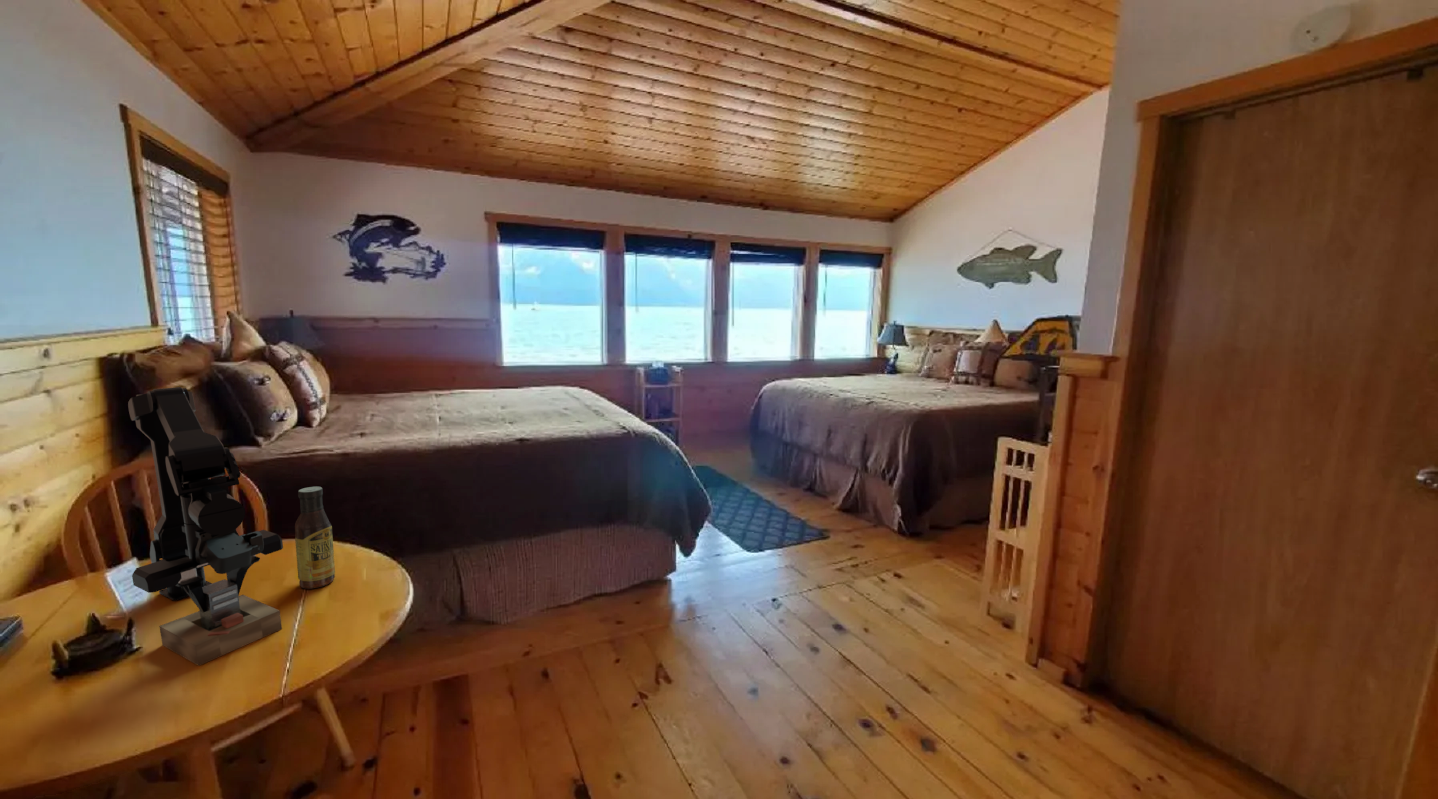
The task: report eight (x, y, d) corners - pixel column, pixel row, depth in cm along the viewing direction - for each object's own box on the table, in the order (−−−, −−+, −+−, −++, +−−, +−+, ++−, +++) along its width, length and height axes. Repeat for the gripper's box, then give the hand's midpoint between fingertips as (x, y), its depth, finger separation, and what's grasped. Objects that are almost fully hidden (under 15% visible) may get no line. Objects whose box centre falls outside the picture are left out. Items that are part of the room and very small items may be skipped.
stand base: (162, 645, 99) (158, 619, 98) (245, 612, 110) (242, 588, 109) (200, 666, 94) (196, 639, 93) (283, 629, 104) (280, 605, 103)
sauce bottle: (317, 592, 118) (307, 496, 114) (291, 588, 119) (280, 493, 115) (344, 577, 124) (335, 485, 120) (319, 574, 125) (309, 483, 122)
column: (201, 632, 101) (195, 588, 100) (229, 621, 104) (223, 578, 103) (215, 639, 99) (209, 595, 98) (243, 628, 102) (237, 584, 101)
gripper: (158, 549, 86) (173, 646, 89) (296, 509, 103) (305, 593, 106) (123, 534, 91) (139, 627, 94) (260, 498, 108) (270, 578, 111)
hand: (219, 605), depth 101 cm, fingers closed on column, 4 cm apart
